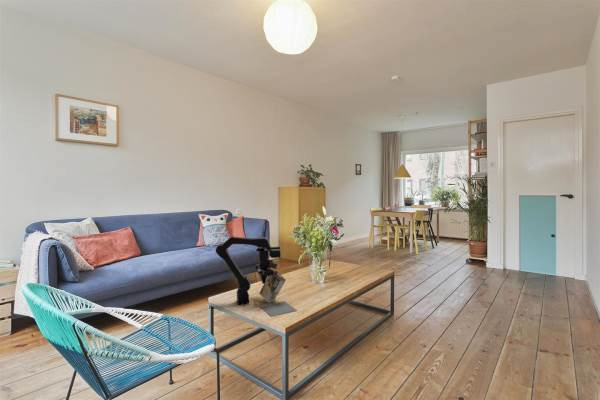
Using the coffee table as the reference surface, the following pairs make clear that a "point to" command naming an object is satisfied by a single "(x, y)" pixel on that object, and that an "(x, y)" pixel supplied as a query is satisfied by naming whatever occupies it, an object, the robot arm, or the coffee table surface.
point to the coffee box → (272, 287)
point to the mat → (278, 308)
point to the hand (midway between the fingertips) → (263, 283)
